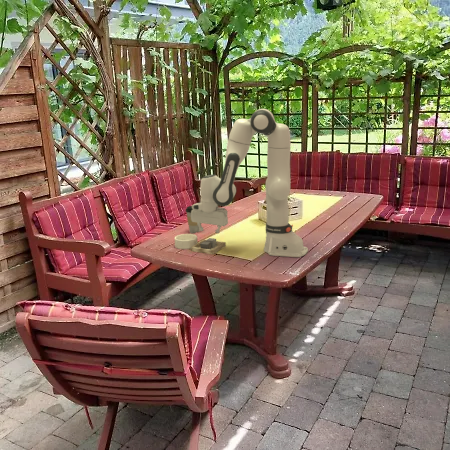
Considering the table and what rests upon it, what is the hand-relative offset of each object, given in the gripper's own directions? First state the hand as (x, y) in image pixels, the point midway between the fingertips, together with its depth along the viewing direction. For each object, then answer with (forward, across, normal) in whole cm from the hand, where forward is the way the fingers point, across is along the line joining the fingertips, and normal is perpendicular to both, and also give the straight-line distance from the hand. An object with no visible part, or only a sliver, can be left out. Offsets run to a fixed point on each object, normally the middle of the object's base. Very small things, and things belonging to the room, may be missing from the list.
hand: (209, 231), depth 247 cm
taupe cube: (+8, -1, 0) cm, 8 cm away
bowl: (+10, +12, +3) cm, 16 cm away
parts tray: (+9, -1, +3) cm, 10 cm away
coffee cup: (+10, +22, -23) cm, 33 cm away
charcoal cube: (+8, -1, +6) cm, 10 cm away
